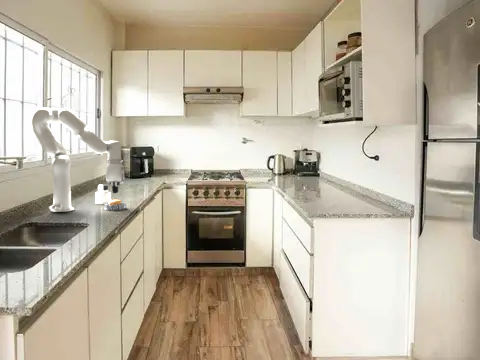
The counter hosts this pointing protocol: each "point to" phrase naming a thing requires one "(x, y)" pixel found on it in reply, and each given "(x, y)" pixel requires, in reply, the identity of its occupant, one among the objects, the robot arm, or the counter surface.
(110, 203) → the pale yellow rounded lump
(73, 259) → the counter surface
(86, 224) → the counter surface
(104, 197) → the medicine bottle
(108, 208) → the faceted metal bowl
